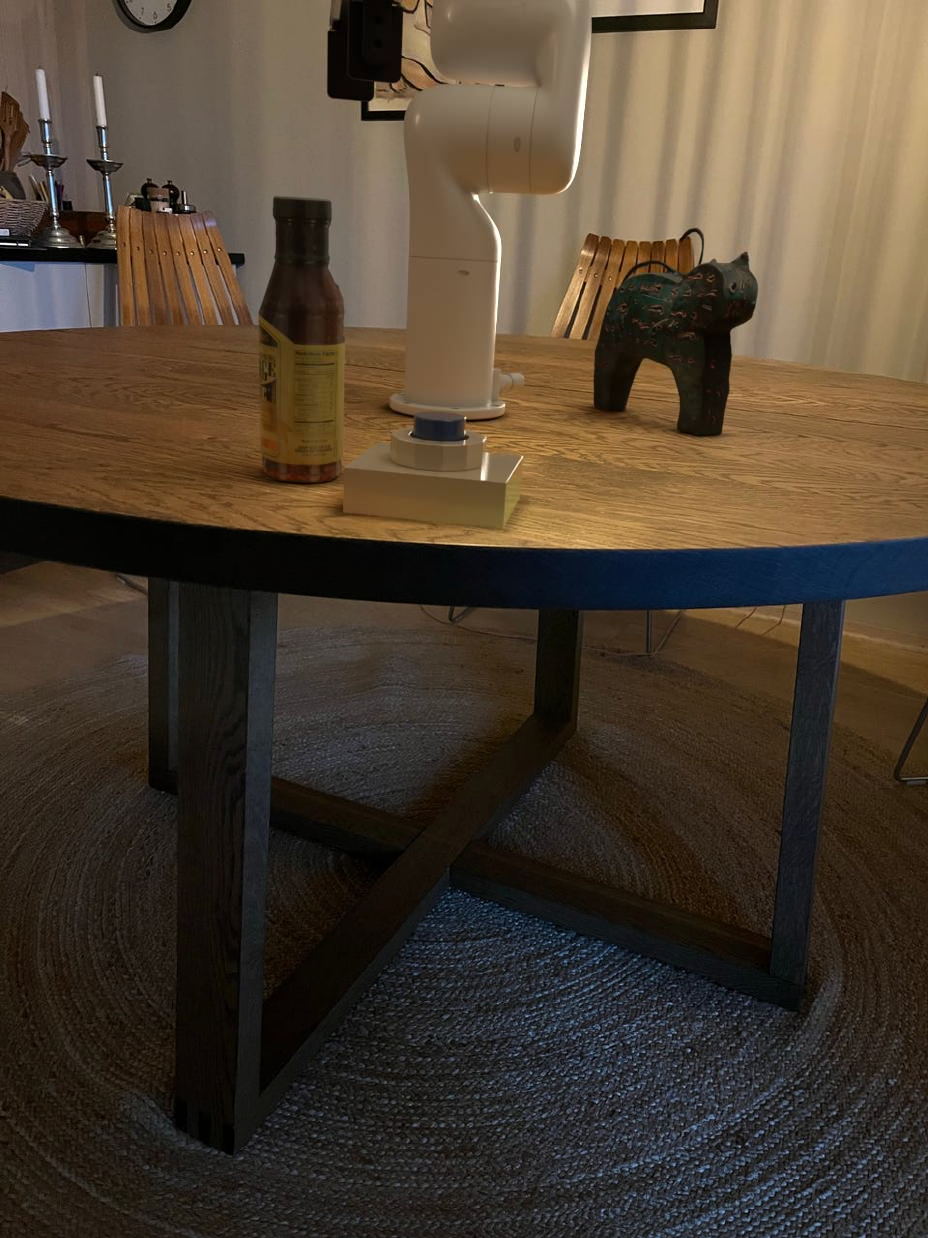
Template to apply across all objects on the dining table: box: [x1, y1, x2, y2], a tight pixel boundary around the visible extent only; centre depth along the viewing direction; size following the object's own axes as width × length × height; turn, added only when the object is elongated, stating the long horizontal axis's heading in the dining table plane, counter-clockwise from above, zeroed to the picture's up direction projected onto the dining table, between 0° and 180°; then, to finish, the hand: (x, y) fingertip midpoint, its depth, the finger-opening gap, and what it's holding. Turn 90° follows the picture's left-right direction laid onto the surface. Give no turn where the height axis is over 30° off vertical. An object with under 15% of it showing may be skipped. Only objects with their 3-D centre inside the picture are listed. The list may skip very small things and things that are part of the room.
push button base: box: [342, 426, 524, 530], centre depth 70 cm, size 9×11×5 cm
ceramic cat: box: [592, 227, 759, 437], centre depth 106 cm, size 20×6×20 cm, turn 32°
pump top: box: [412, 411, 467, 442], centre depth 69 cm, size 4×4×2 cm
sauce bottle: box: [257, 195, 346, 484], centre depth 73 cm, size 6×6×20 cm
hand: (361, 90), depth 64 cm, fingers open, 9 cm apart
